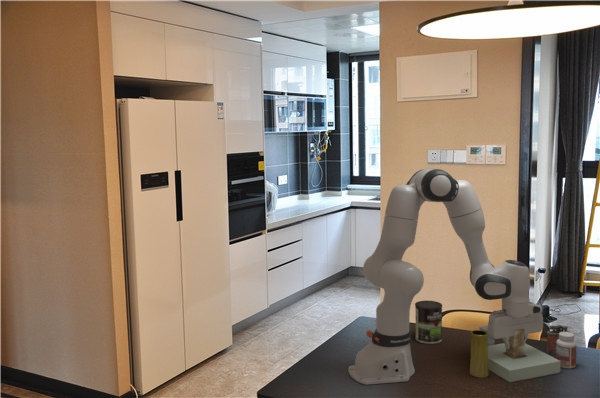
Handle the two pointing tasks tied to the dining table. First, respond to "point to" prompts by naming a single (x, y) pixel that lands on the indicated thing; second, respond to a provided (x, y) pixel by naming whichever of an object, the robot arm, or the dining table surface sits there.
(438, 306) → the coffee can
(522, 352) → the long peg
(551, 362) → the socket plate
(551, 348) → the lighter
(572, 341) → the pill bottle
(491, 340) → the short peg
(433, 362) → the dining table surface
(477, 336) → the vase
